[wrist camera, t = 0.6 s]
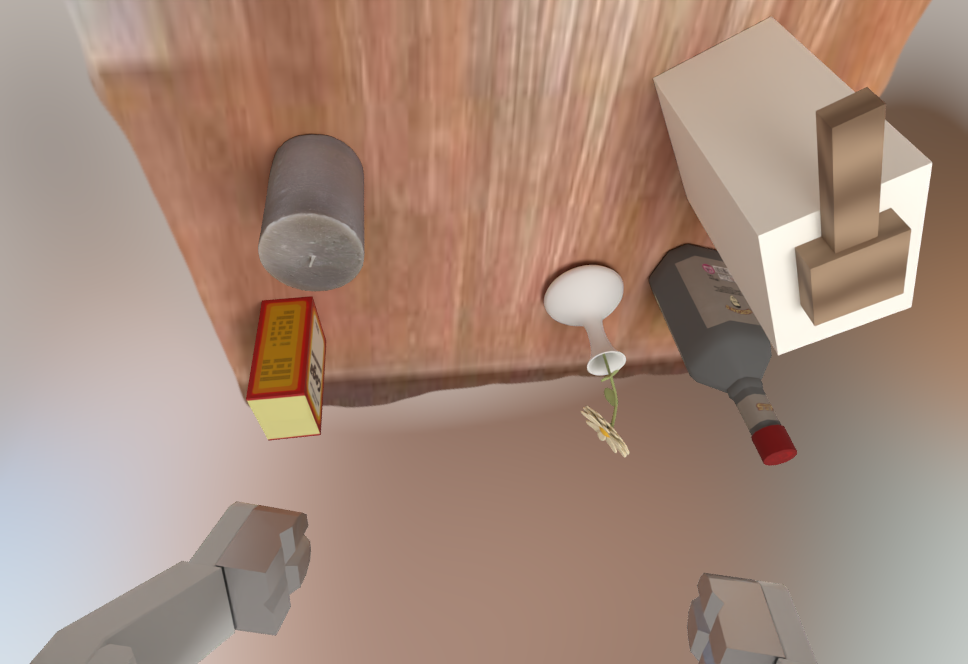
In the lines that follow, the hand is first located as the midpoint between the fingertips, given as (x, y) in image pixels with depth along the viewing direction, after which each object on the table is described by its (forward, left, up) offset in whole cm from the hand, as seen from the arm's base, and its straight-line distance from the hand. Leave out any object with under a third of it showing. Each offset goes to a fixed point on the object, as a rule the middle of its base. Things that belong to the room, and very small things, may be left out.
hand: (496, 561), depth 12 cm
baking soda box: (+49, +18, -52) cm, 74 cm away
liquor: (+9, +56, -52) cm, 77 cm away
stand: (-7, +39, -52) cm, 65 cm away
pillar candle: (+26, +8, -52) cm, 59 cm away
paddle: (-10, +32, -27) cm, 43 cm away
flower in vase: (+21, +47, -52) cm, 73 cm away
